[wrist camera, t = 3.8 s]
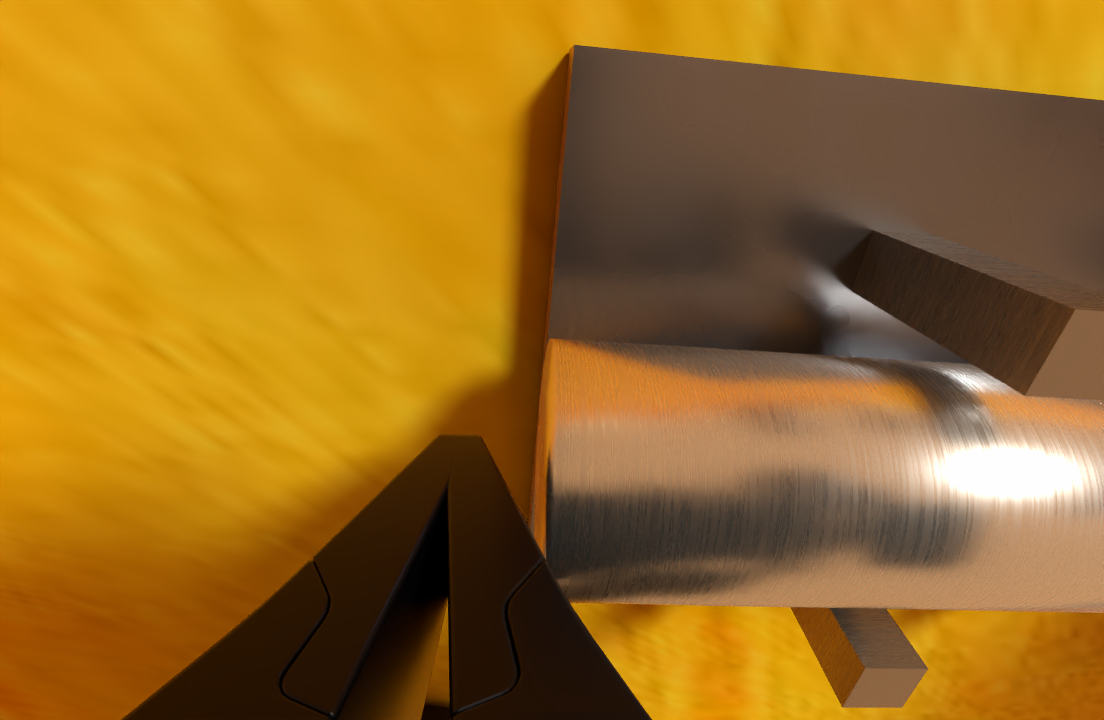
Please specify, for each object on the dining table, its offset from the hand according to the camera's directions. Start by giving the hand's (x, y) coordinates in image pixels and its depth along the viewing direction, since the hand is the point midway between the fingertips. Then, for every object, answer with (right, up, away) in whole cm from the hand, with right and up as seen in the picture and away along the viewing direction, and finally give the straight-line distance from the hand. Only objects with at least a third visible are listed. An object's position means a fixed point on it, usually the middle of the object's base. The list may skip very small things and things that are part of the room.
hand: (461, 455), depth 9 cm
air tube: (+9, 0, +3) cm, 10 cm away
